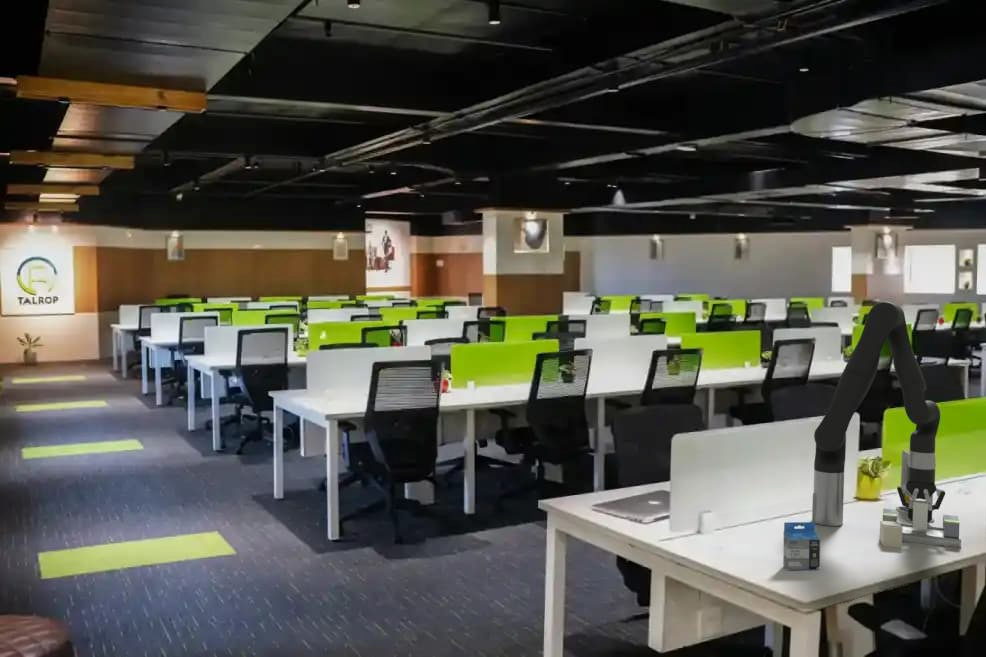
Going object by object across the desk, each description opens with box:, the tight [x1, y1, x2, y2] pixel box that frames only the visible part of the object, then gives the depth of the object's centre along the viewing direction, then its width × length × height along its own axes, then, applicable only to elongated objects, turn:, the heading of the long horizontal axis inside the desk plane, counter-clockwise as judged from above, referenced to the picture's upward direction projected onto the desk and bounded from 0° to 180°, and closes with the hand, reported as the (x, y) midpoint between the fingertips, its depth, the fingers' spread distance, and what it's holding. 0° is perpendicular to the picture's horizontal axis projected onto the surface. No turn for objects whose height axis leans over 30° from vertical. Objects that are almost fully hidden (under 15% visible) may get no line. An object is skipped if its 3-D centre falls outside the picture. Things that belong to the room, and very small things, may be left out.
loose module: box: [911, 499, 928, 530], centre depth 277 cm, size 4×6×8 cm
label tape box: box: [782, 521, 821, 571], centre depth 245 cm, size 9×4×12 cm, turn 93°
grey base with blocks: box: [882, 508, 962, 549], centre depth 277 cm, size 22×13×7 cm, turn 66°
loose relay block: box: [879, 520, 903, 548], centre depth 270 cm, size 5×7×6 cm
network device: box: [895, 450, 935, 524], centre depth 304 cm, size 26×9×20 cm, turn 168°
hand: (919, 520), depth 277 cm, fingers closed on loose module, 4 cm apart
